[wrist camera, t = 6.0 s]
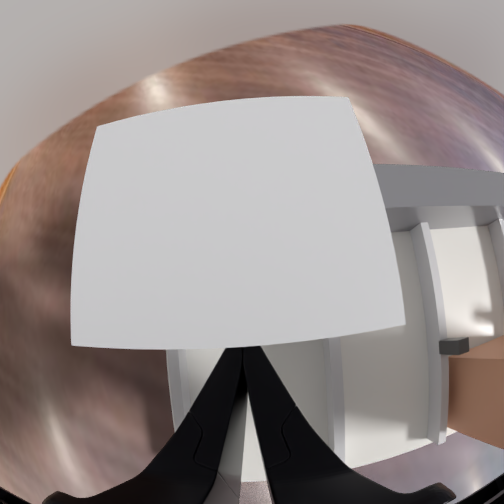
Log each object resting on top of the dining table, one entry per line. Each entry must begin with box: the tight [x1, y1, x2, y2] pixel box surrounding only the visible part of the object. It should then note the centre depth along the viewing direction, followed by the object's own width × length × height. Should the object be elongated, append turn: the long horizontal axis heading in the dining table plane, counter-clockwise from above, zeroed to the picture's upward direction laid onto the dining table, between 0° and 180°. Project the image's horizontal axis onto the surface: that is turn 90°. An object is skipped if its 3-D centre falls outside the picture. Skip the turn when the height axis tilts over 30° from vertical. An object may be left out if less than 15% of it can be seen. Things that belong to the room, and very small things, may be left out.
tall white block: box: [71, 96, 406, 349], centre depth 10 cm, size 5×6×11 cm
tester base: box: [166, 164, 504, 482], centre depth 13 cm, size 17×25×5 cm
